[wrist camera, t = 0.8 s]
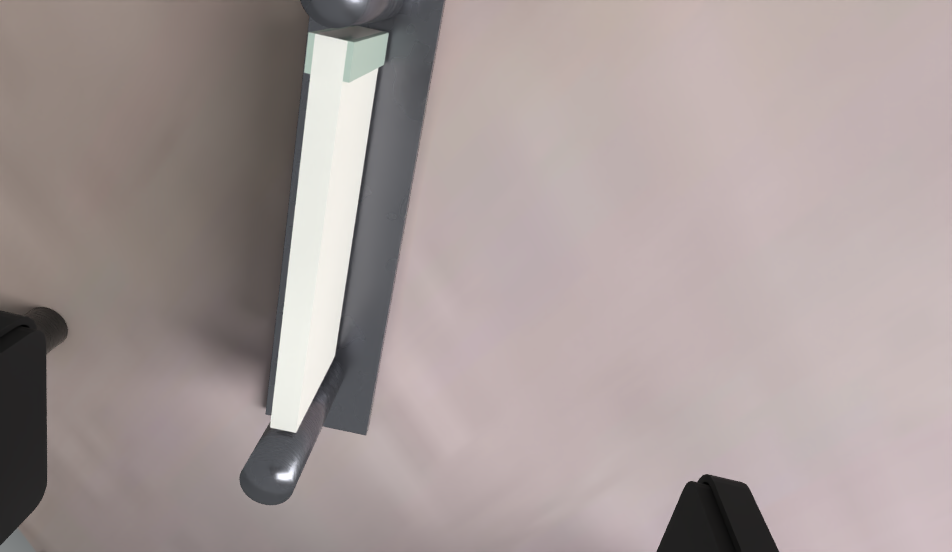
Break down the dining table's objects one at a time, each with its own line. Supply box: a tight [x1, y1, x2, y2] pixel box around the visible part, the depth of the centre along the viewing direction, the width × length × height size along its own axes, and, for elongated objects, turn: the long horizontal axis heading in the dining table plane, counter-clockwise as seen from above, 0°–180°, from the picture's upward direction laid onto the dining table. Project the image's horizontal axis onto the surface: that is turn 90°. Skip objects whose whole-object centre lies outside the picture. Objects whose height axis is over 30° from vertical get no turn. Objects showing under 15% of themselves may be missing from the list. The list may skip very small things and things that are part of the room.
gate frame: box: [24, 0, 445, 505], centre depth 26 cm, size 22×17×8 cm
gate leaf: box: [270, 25, 389, 433], centre depth 26 cm, size 14×1×6 cm, turn 168°
